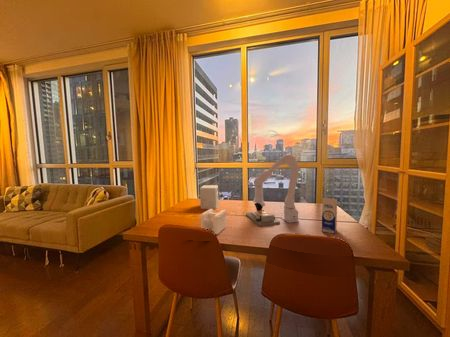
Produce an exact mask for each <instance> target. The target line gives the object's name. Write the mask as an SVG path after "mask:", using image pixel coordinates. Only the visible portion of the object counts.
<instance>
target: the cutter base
mask: <svg viewBox="0 0 450 337" xmlns="http://www.w3.org/2000/svg"><path fill="white" fill-rule="evenodd" d="M267 214H268V215H262V216H261V218H260V217H259V216H257V211H254V212H253V211H250V212H246V213H245V215H246V216H247V217H248V218H249V219H250V220H251V221H252V222H253V223H255V224H256V225H257V226H258V227H268V226H275V225H281V222H280V220H278V219H276V216H275V214H269V213H267Z"/></svg>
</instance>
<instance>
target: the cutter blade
mask: <svg viewBox="0 0 450 337" xmlns="http://www.w3.org/2000/svg"><path fill="white" fill-rule="evenodd" d="M256 212H257V216H259V217H260V218H261V216H262V215H268V214H269V213H268V212H266V211H264V209H262V210H257V209H256Z"/></svg>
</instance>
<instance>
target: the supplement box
mask: <svg viewBox="0 0 450 337" xmlns="http://www.w3.org/2000/svg"><path fill="white" fill-rule="evenodd" d="M199 195H200V196H199V197H200V198H199V199H200V200H199V201H200V209H203V210H205V209H206V210H209V209H213V210H216V209H218V207H219V205H220V204H219V203H220V202H219V200H220V198H219V185H218V184H217V185H214V184H211V185H207V184H206V185H205V184H204V185H202V186H201V187H200V188H199Z"/></svg>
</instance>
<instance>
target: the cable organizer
mask: <svg viewBox="0 0 450 337" xmlns="http://www.w3.org/2000/svg"><path fill="white" fill-rule="evenodd" d="M227 214H228V212H227V211H226V210H225V209H221V210H220V211H219V212H214V209H206V211H204V212H202V213H201V215H200V229H201V228H205V229H208V230H207V231H209V230H210V229H211V232H212V233H213V234H215V235H219V234H220V233H221V232H222V231H223V230H224V229H225V228H226V227H227Z"/></svg>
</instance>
